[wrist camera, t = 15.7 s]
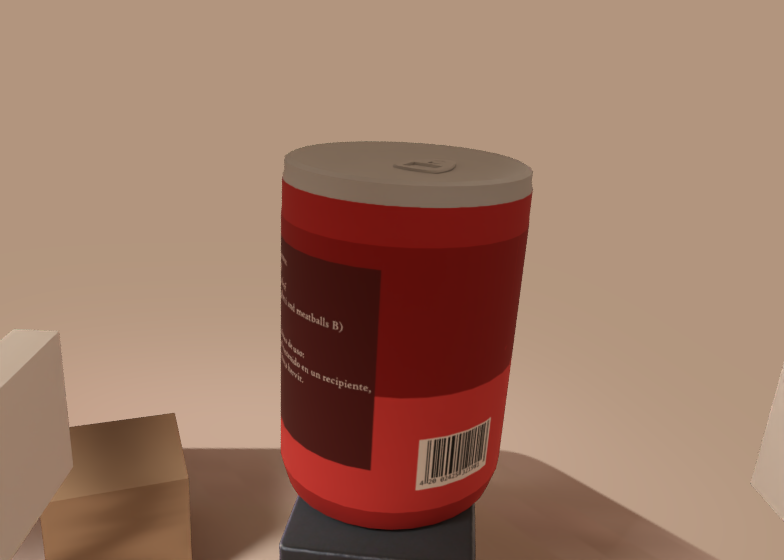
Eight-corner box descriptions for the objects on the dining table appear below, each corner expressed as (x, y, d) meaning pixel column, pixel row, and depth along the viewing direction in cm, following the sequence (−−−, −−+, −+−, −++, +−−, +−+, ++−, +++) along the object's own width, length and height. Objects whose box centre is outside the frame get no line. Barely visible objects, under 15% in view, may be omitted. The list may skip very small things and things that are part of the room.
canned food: (509, 429, 27) (544, 154, 24) (476, 564, 20) (520, 196, 17) (329, 394, 29) (338, 133, 26) (240, 506, 22) (234, 164, 18)
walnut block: (52, 617, 30) (38, 503, 28) (58, 531, 36) (46, 430, 34) (192, 586, 33) (188, 478, 31) (179, 509, 38) (174, 412, 36)
